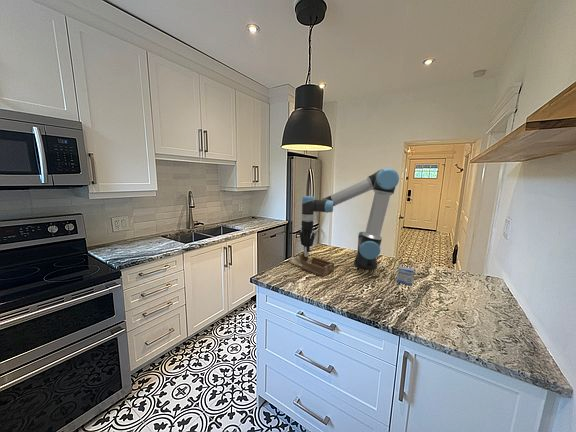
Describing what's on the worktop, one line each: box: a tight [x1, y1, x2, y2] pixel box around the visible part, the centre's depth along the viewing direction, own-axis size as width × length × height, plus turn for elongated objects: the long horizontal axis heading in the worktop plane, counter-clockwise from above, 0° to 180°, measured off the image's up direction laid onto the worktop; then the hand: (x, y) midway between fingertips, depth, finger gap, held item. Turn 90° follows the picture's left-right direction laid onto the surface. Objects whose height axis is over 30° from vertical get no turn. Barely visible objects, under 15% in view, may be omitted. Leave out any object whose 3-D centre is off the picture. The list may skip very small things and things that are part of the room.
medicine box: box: [396, 265, 415, 286], centre depth 139 cm, size 8×4×9 cm, turn 62°
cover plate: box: [288, 252, 312, 268], centre depth 164 cm, size 9×13×7 cm
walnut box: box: [301, 256, 335, 278], centre depth 154 cm, size 12×16×6 cm
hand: (306, 256), depth 159 cm, fingers closed
